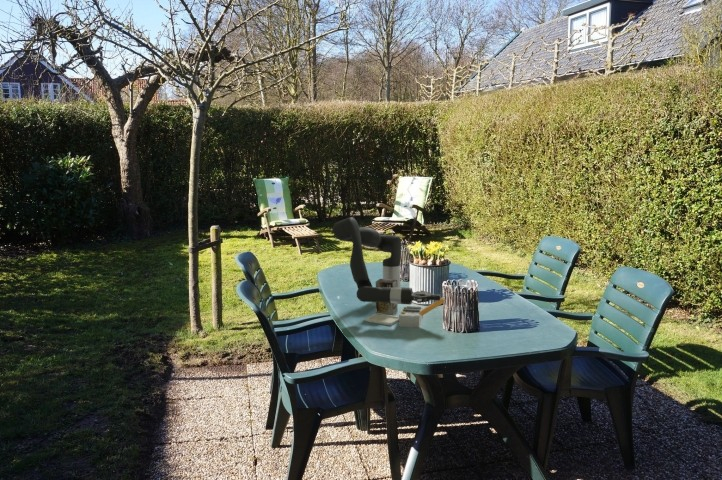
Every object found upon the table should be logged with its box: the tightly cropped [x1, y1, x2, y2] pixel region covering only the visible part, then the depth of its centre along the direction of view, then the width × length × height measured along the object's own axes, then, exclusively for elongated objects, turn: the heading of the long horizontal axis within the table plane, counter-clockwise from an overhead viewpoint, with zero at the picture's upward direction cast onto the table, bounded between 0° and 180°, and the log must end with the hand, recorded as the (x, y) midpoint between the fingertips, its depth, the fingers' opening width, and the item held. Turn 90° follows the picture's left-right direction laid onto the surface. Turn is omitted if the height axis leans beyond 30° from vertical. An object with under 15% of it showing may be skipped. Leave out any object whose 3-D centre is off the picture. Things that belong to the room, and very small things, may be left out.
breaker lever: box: [420, 296, 445, 317], centre depth 251 cm, size 3×2×16 cm
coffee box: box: [375, 278, 399, 316], centre depth 271 cm, size 9×6×16 cm
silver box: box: [398, 305, 424, 328], centre depth 257 cm, size 14×9×6 cm, turn 167°
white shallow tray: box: [365, 312, 399, 327], centre depth 261 cm, size 11×14×1 cm
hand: (439, 297), depth 250 cm, fingers closed
